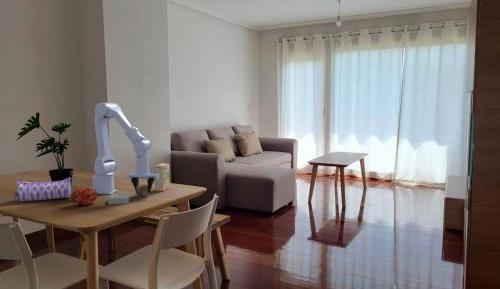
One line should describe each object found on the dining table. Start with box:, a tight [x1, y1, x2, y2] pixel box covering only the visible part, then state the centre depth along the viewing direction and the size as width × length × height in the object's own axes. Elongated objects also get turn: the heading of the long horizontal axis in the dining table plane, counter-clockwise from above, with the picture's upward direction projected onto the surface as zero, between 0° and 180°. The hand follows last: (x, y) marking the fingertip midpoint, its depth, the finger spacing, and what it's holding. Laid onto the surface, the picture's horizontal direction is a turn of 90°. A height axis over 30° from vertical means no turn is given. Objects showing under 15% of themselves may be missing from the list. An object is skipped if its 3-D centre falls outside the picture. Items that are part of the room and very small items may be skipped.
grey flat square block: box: [107, 193, 131, 205], centre depth 165 cm, size 8×8×3 cm
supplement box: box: [154, 163, 171, 192], centre depth 189 cm, size 8×5×13 cm, turn 169°
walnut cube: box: [135, 184, 151, 199], centre depth 175 cm, size 5×5×5 cm
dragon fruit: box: [69, 186, 100, 207], centre depth 160 cm, size 8×8×12 cm
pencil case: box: [14, 177, 72, 203], centre depth 168 cm, size 22×9×10 cm, turn 111°
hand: (143, 193), depth 175 cm, fingers closed on walnut cube, 5 cm apart
